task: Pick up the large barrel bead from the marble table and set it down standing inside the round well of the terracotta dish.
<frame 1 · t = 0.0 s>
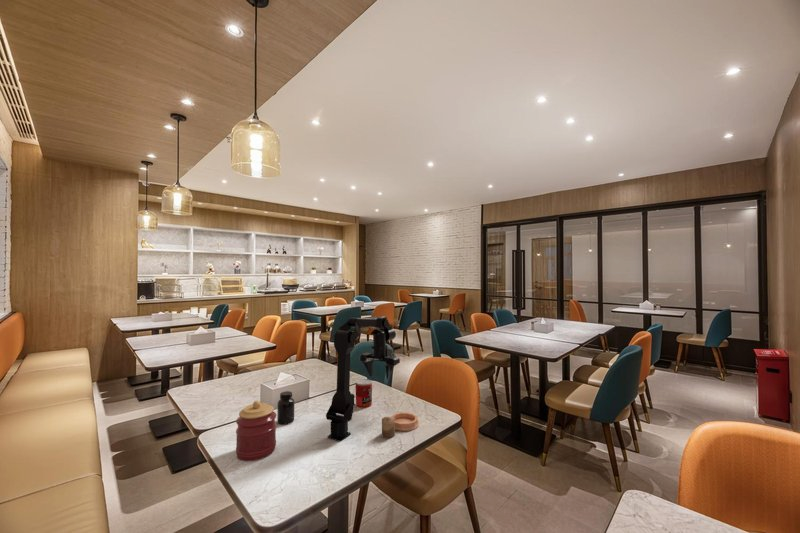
hand: (379, 377, 153), 15 cm above the table, tool pointing down, fingers open, 9 cm apart
bead: (388, 435, 129), on the table
canister: (256, 452, 117), on the table
canned food: (363, 405, 159), on the table
dish: (404, 424, 138), on the table
supplement bottle: (285, 422, 141), on the table
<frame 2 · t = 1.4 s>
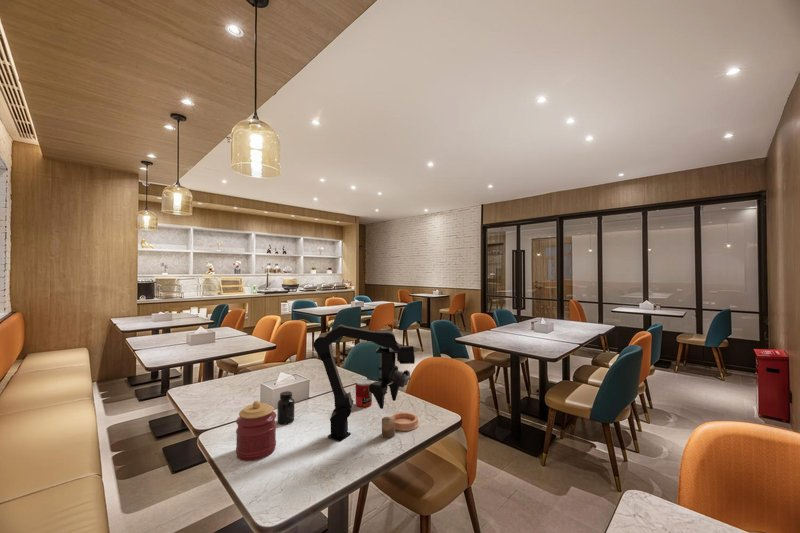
hand: (388, 404, 130), 12 cm above the table, tool pointing down, fingers open, 9 cm apart
nothing on the table moved.
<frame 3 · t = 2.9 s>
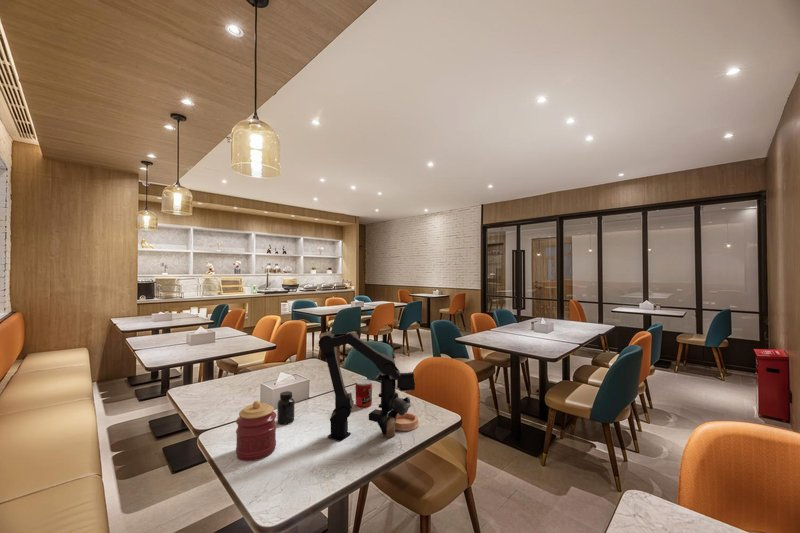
hand: (388, 431, 129), 1 cm above the table, tool pointing down, fingers closed on bead, 5 cm apart
bead: (388, 434, 129), on the table, touching gripper
everything else where it was.
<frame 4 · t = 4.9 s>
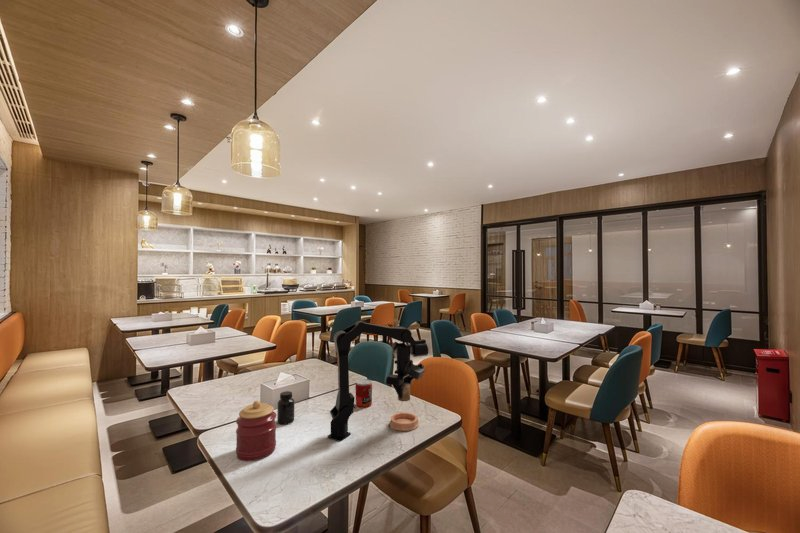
hand: (403, 396, 138), 12 cm above the table, tool pointing down, fingers closed on bead, 5 cm apart
bead: (404, 399, 138), point 11 cm above the table, touching gripper
everything else where it was.
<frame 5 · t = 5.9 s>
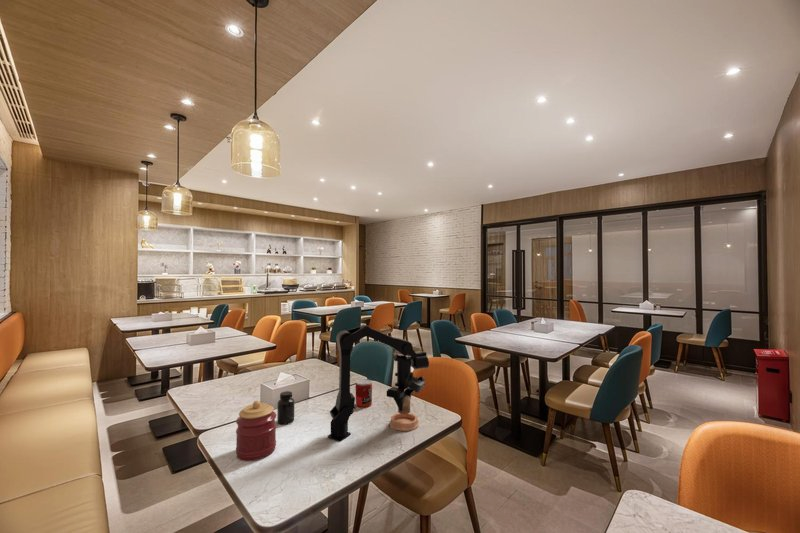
hand: (404, 408, 138), 7 cm above the table, tool pointing down, fingers closed on bead, 5 cm apart
bead: (404, 411, 138), point 5 cm above the table, touching gripper
everything else where it was.
when the fingers open (3 cm above the table, at t = 6.9 s): bead drops 1 cm, resting on dish.
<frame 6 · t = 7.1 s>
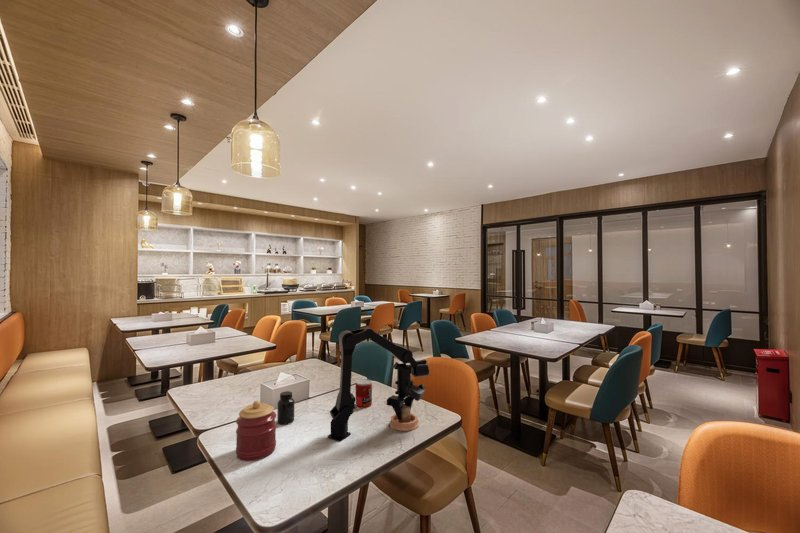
hand: (404, 416, 138), 3 cm above the table, tool pointing down, fingers open, 7 cm apart
bead: (404, 422, 138), point 1 cm above the table, touching dish
everything else where it was.
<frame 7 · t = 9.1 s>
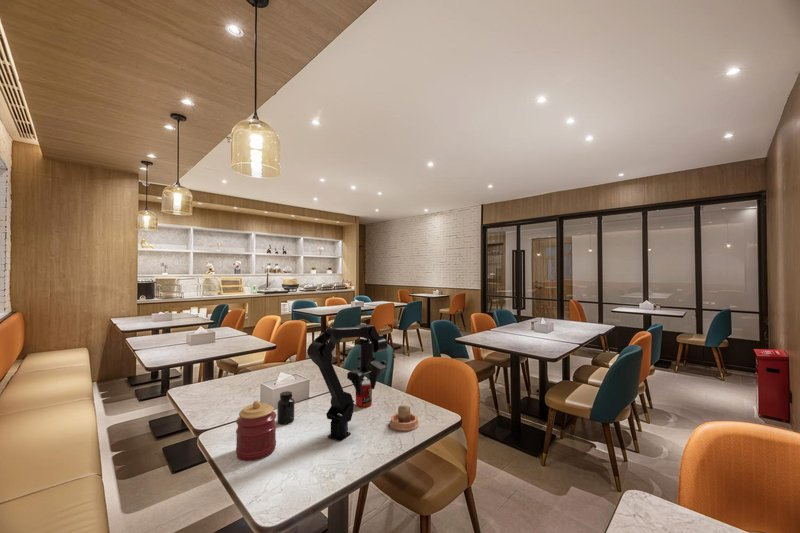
hand: (366, 391, 140), 13 cm above the table, tool pointing down, fingers open, 9 cm apart
nothing on the table moved.
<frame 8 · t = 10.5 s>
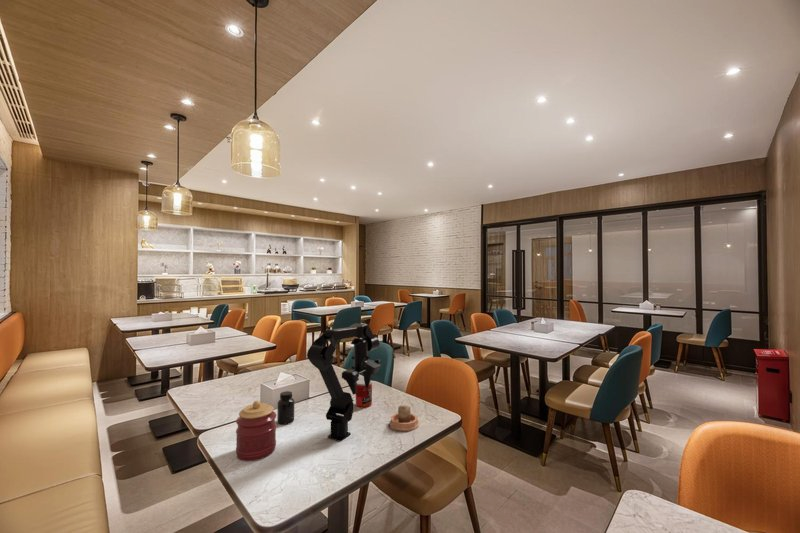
hand: (360, 390, 141), 13 cm above the table, tool pointing down, fingers open, 9 cm apart
nothing on the table moved.
at the end: bead 0.1 cm from the dish (horizontally); bead tilted 0°; the gripper is holding nothing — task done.
